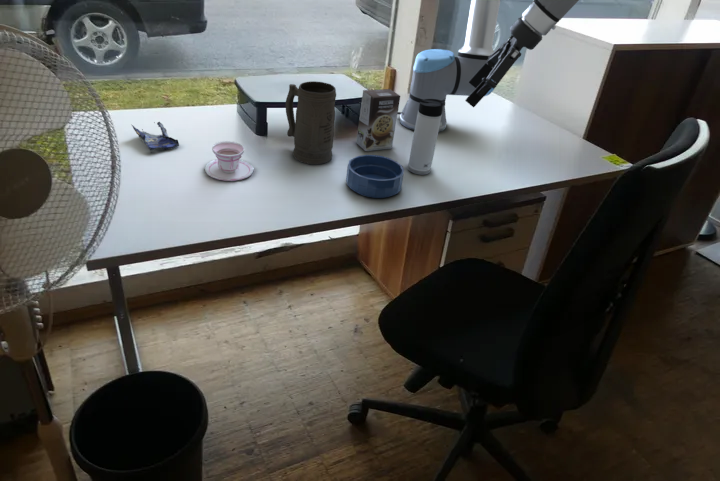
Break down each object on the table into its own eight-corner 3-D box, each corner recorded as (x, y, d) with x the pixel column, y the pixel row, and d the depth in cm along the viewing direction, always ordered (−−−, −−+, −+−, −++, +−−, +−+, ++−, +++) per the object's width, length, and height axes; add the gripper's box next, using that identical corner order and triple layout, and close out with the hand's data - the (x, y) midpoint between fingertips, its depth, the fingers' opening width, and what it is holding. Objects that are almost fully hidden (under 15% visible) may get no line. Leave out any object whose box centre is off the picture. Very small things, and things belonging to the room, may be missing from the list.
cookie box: (365, 151, 162) (372, 97, 153) (355, 142, 167) (361, 89, 158) (392, 148, 166) (401, 95, 157) (382, 139, 171) (389, 87, 162)
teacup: (201, 161, 145) (200, 139, 142) (247, 158, 150) (247, 137, 146) (209, 183, 136) (208, 160, 133) (258, 179, 141) (258, 157, 137)
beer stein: (341, 155, 158) (343, 84, 148) (323, 169, 150) (324, 94, 139) (293, 144, 163) (292, 74, 153) (273, 156, 155) (271, 84, 144)
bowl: (334, 182, 144) (336, 163, 141) (371, 168, 153) (374, 150, 150) (375, 205, 137) (378, 186, 134) (411, 189, 146) (415, 170, 143)
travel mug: (430, 177, 153) (444, 106, 142) (406, 172, 154) (419, 101, 143) (432, 167, 158) (446, 98, 147) (409, 163, 159) (421, 94, 148)
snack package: (177, 134, 157) (132, 134, 154) (176, 114, 153) (130, 113, 149) (180, 160, 149) (132, 160, 145) (179, 139, 145) (130, 139, 141)
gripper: (546, 52, 123) (480, 121, 135) (541, 23, 143) (484, 86, 155) (521, 29, 122) (456, 102, 134) (519, 4, 142) (463, 69, 154)
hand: (471, 94), depth 145 cm, fingers open, 13 cm apart
